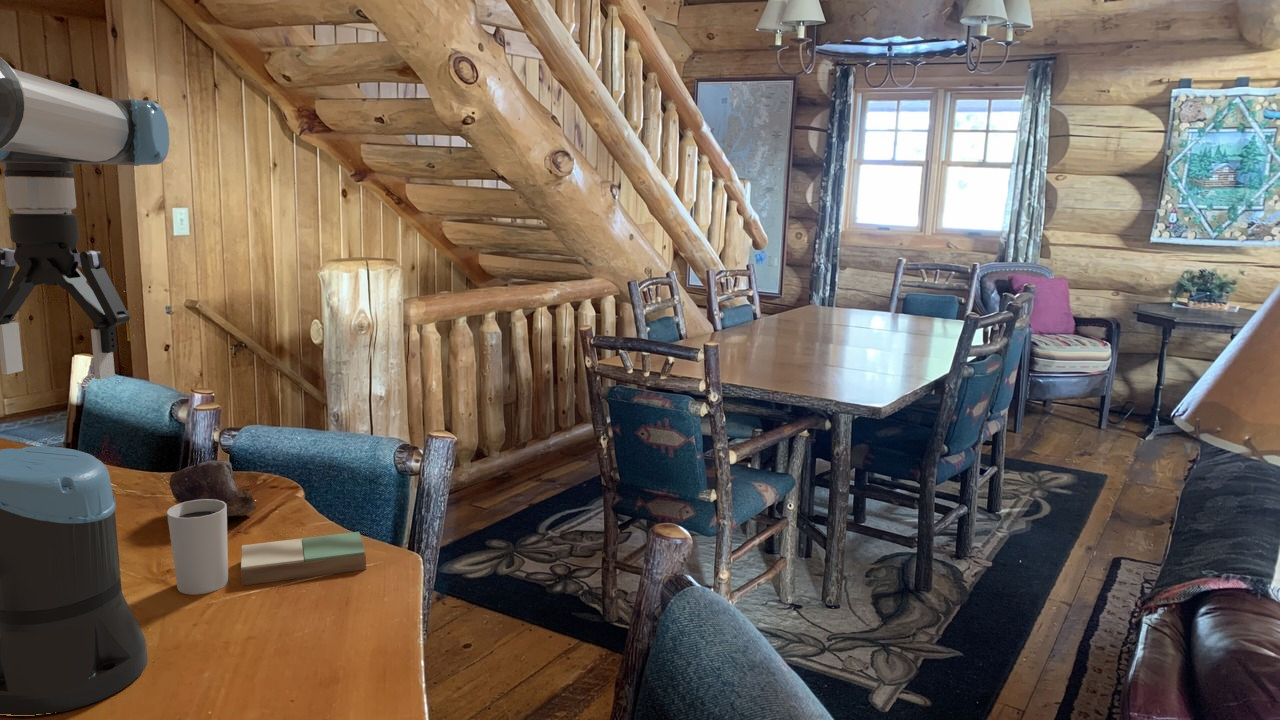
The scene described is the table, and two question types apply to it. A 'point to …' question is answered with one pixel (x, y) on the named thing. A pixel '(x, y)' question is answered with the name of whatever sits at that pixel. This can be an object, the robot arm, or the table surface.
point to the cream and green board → (302, 558)
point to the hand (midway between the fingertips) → (58, 375)
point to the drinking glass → (199, 545)
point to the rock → (211, 486)
